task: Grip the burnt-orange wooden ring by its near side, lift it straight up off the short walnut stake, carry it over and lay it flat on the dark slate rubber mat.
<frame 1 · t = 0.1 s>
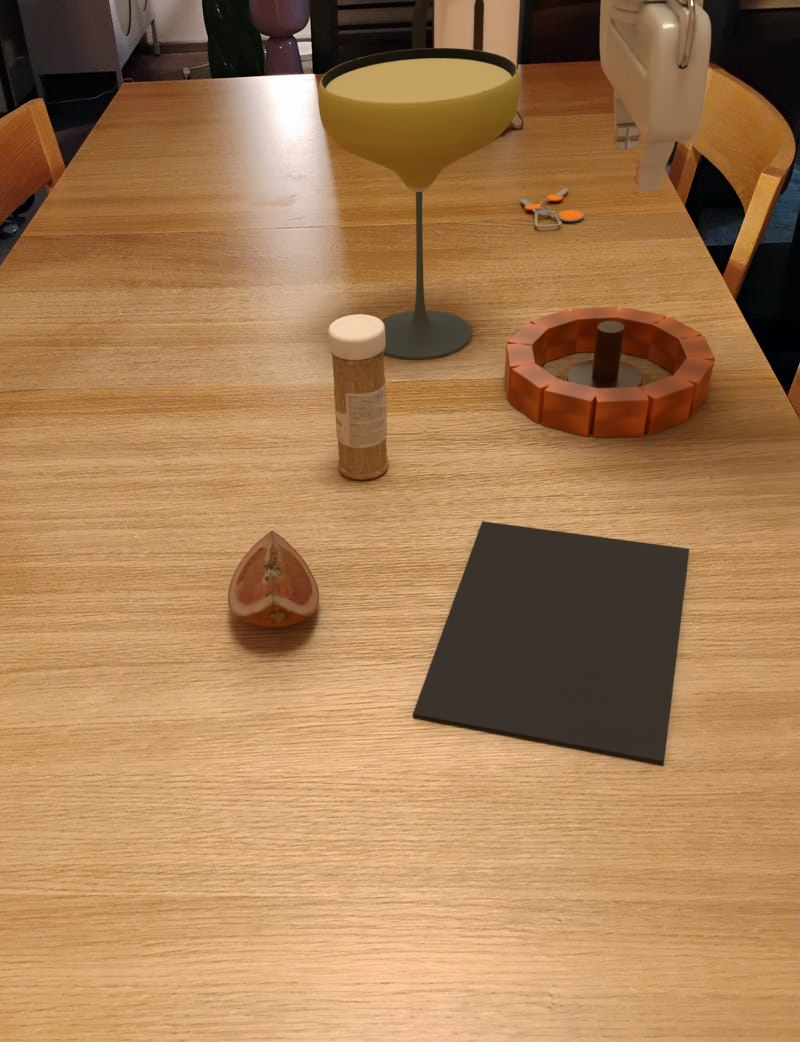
hand: (635, 167, 81), 21 cm above the table, tool pointing down, fingers open, 8 cm apart
fruit slice: (276, 618, 77), on the table
mat: (560, 629, 73), on the table
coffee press: (469, 134, 156), on the table
sprinkles bottle: (363, 469, 91), on the table
ring: (603, 385, 98), on the table
key chain: (550, 211, 131), on the table
stake: (603, 385, 98), on the table
cocktail glass: (420, 337, 108), on the table
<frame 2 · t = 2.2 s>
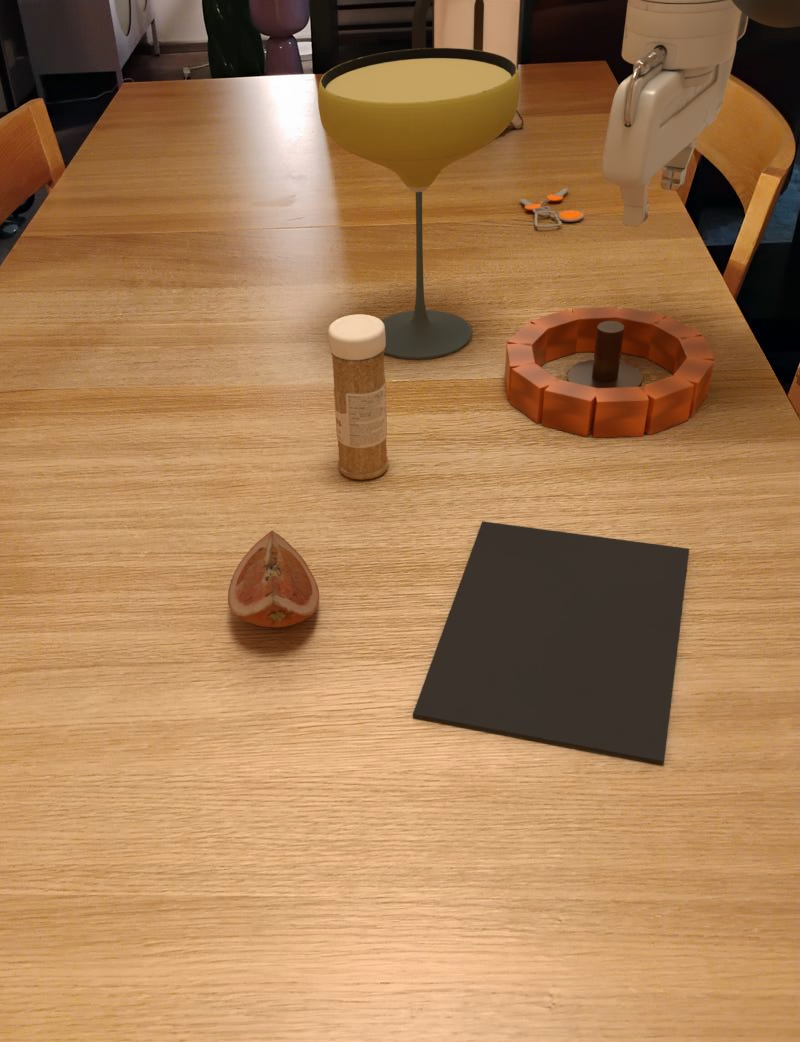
hand: (653, 205, 93), 14 cm above the table, tool pointing down, fingers open, 8 cm apart
nothing on the table moved.
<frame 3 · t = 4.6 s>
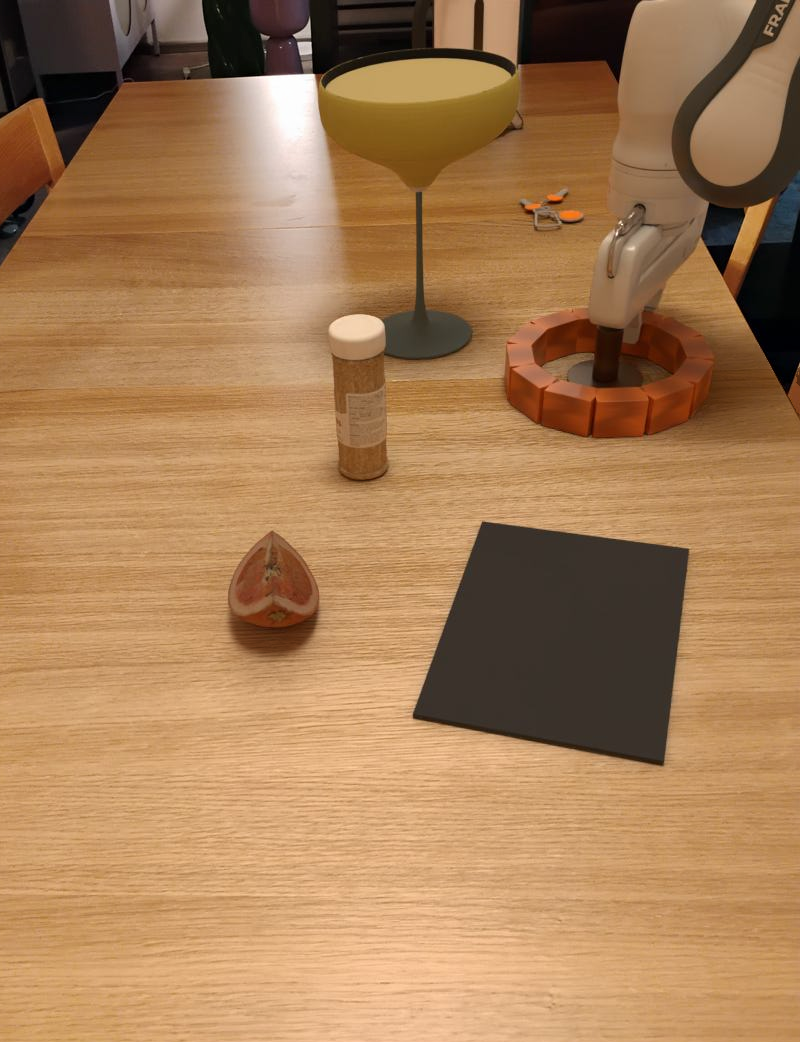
hand: (637, 332, 101), 2 cm above the table, tool pointing down, fingers closed on ring, 2 cm apart
ring: (603, 385, 98), on the table, touching gripper
everything else where it was.
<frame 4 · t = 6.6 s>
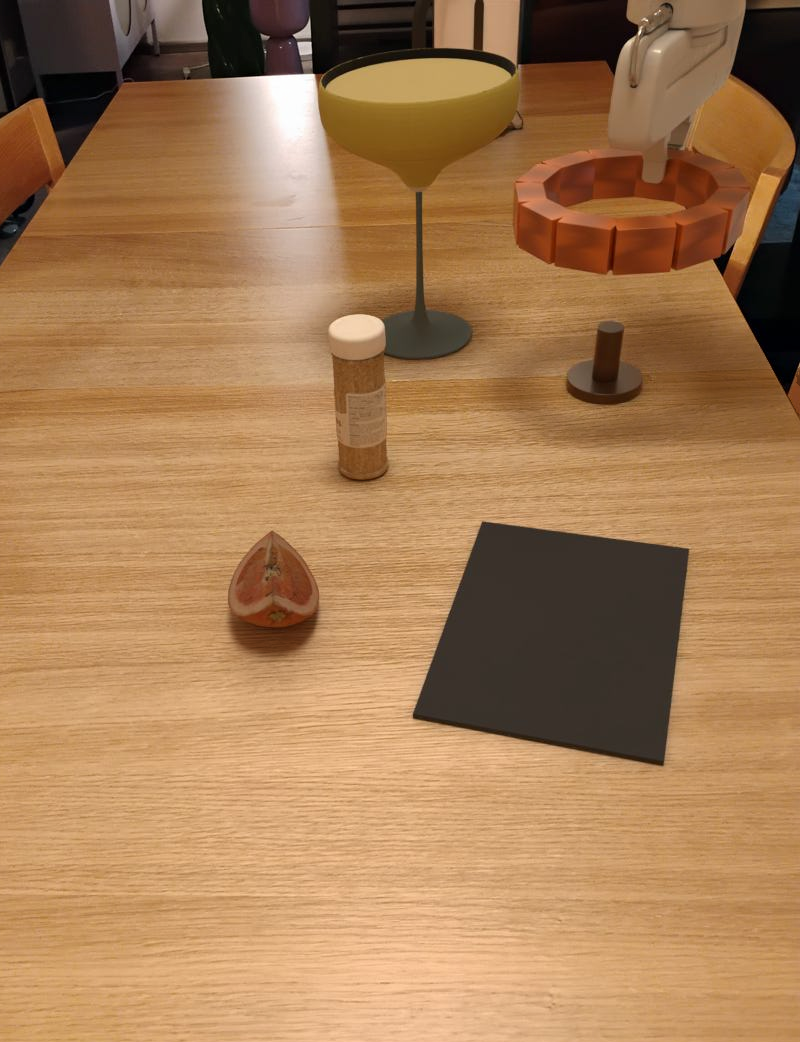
hand: (662, 173, 90), 17 cm above the table, tool pointing down, fingers closed on ring, 2 cm apart
ring: (624, 228, 87), point 15 cm above the table, touching gripper
everything else where it was.
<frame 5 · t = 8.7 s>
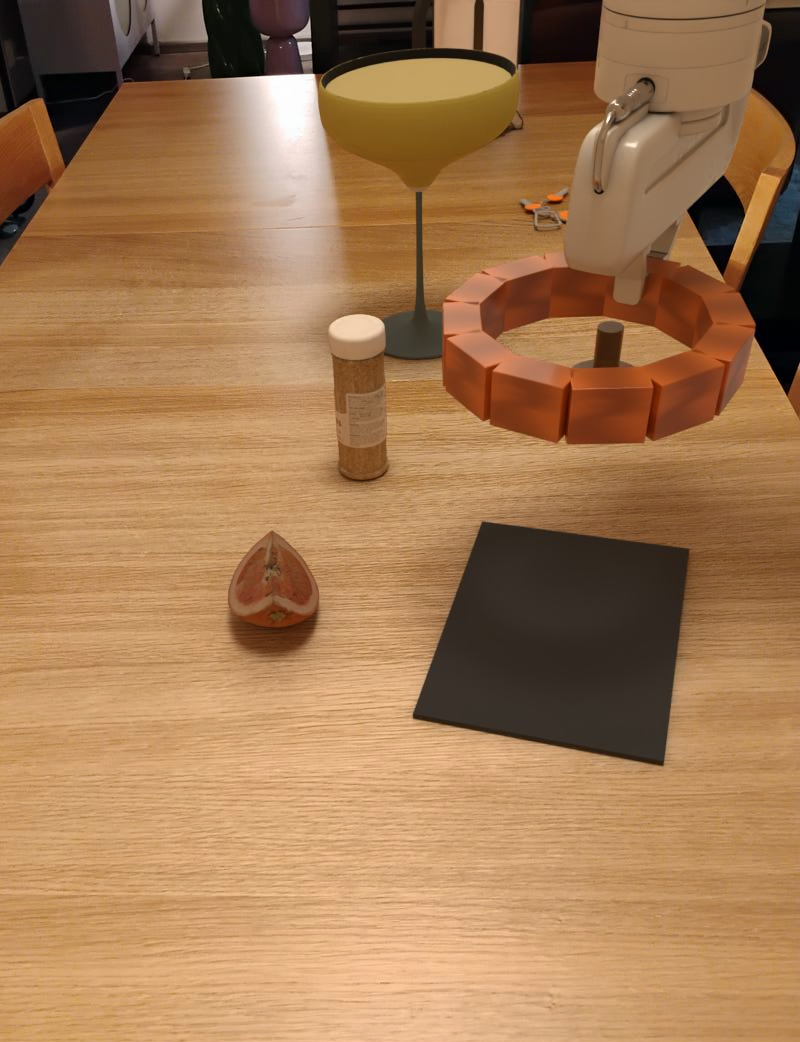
hand: (640, 288, 69), 19 cm above the table, tool pointing down, fingers closed on ring, 2 cm apart
ring: (586, 365, 66), point 18 cm above the table, touching gripper
everything else where it was.
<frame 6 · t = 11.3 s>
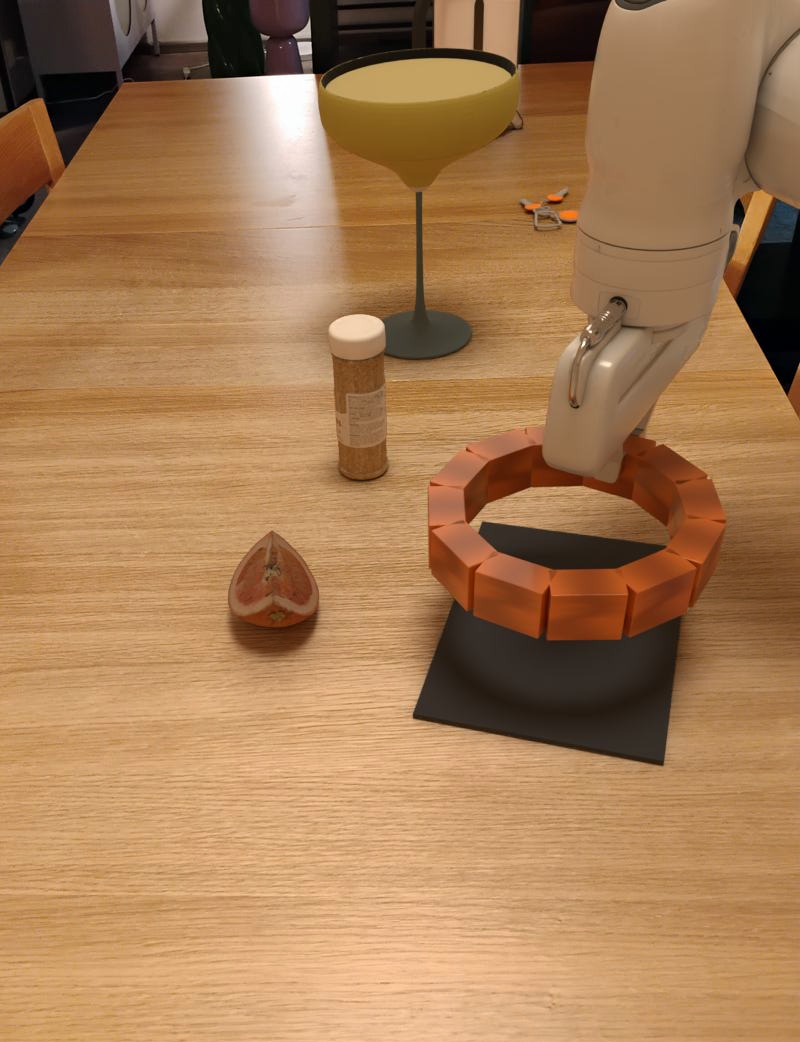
hand: (617, 462, 72), 9 cm above the table, tool pointing down, fingers closed on ring, 2 cm apart
ring: (566, 546, 68), point 7 cm above the table, touching gripper
everything else where it was.
when the fingers open (2 cm above the table, at t = 13.1 s): ring stays where it is, resting on mat.
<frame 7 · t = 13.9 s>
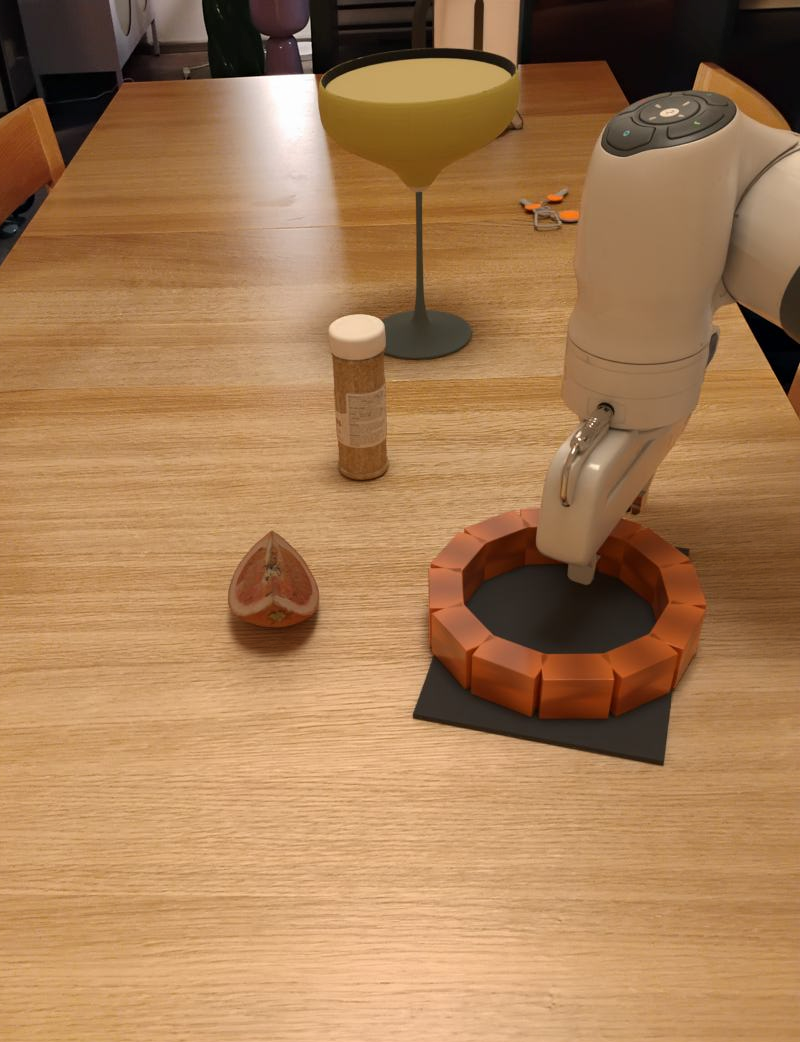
hand: (607, 541, 76), 2 cm above the table, tool pointing down, fingers open, 8 cm apart
ring: (558, 624, 73), resting on mat
everything else where it was.
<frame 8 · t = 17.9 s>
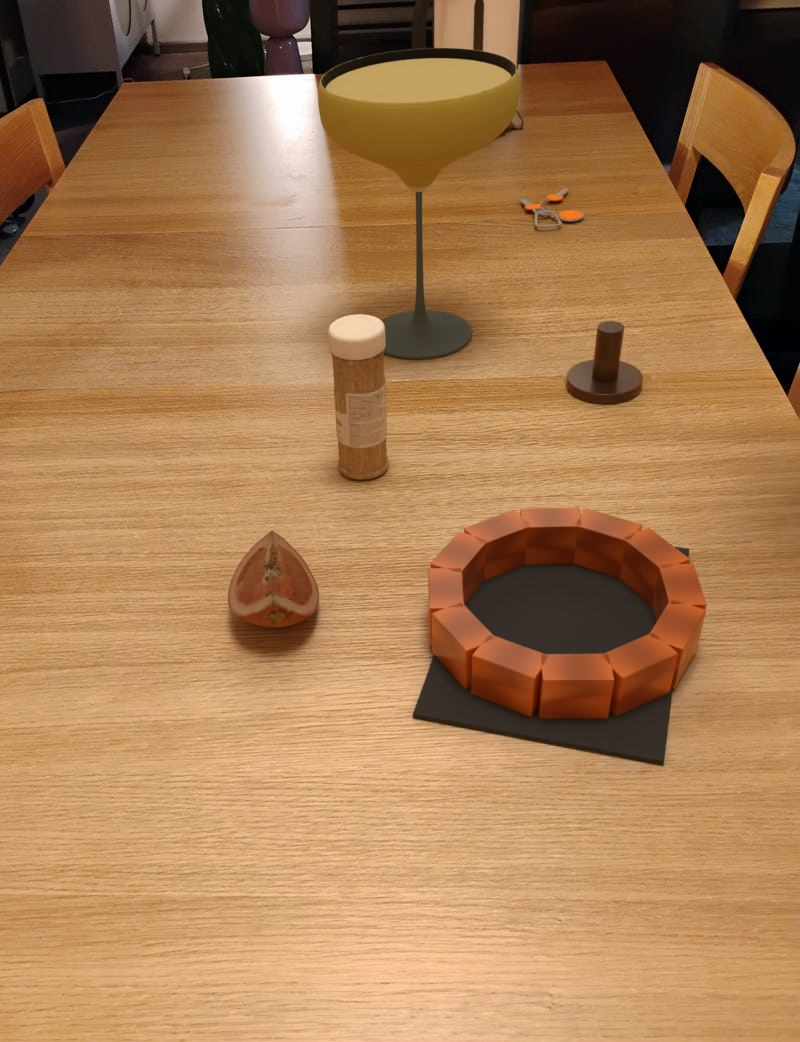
nothing on the table moved.
at the end: ring inside the target area on the mat (0.2 cm from its centre), point 0.4 cm above the mat's base; ring tilted 0°; the gripper is holding nothing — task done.
